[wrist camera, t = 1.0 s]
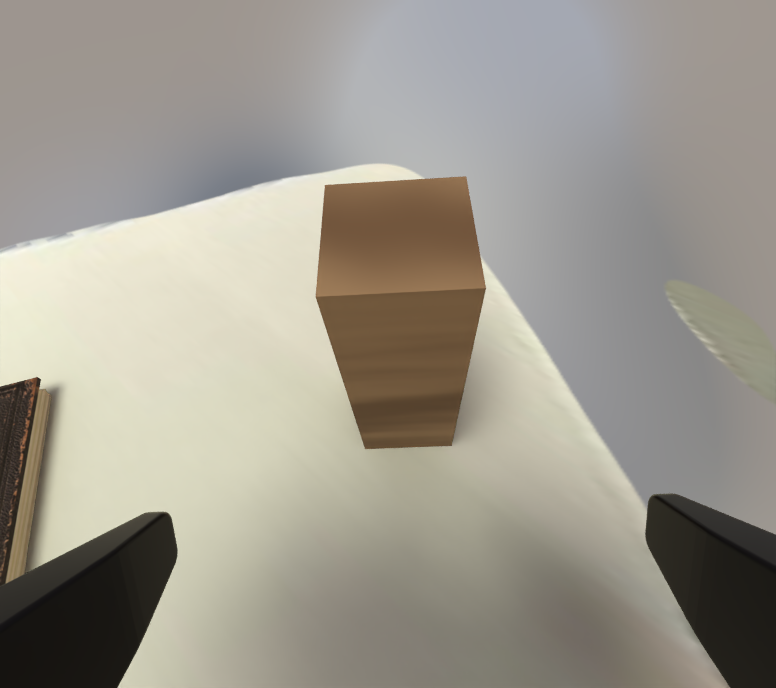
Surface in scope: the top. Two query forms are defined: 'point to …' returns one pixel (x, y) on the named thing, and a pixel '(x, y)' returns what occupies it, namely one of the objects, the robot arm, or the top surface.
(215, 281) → the top surface
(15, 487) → the hardcover book
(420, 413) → the walnut block
